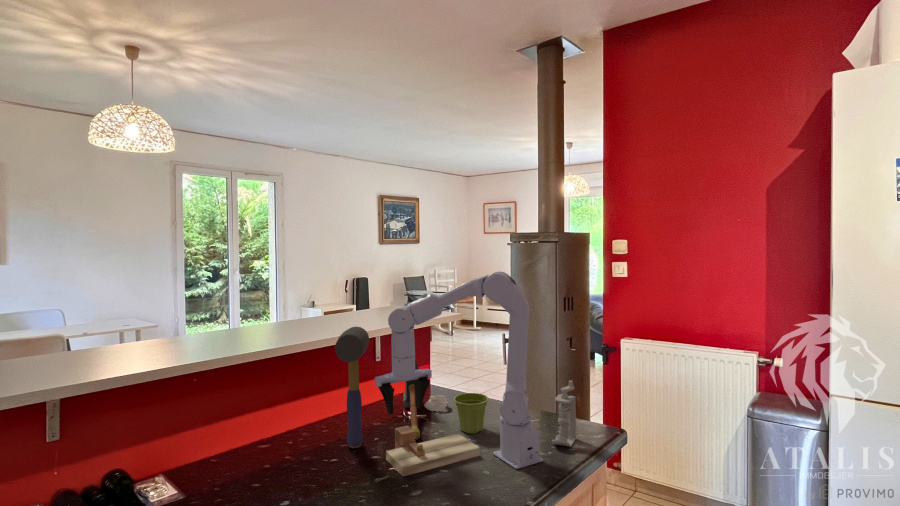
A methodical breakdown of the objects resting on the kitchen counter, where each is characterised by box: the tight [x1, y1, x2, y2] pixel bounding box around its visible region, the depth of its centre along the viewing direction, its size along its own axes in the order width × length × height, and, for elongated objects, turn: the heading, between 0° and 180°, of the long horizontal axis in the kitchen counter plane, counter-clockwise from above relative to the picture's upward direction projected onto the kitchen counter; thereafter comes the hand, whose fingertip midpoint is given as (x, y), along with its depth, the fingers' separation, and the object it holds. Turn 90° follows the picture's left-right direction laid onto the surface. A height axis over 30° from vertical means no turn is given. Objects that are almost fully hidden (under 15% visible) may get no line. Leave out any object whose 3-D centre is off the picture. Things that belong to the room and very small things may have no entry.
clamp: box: [551, 379, 577, 448], centre depth 123 cm, size 4×10×15 cm, turn 152°
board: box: [385, 433, 481, 477], centre depth 116 cm, size 10×20×2 cm, turn 119°
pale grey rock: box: [423, 394, 451, 413], centre depth 151 cm, size 8×7×5 cm
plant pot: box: [453, 392, 489, 434], centre depth 133 cm, size 9×9×9 cm
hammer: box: [402, 356, 421, 440], centre depth 141 cm, size 6×16×30 cm
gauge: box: [394, 425, 425, 457], centre depth 117 cm, size 11×4×5 cm, turn 29°
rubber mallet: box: [334, 326, 370, 449], centre depth 123 cm, size 12×8×30 cm, turn 2°
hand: (404, 410), depth 121 cm, fingers open, 7 cm apart
